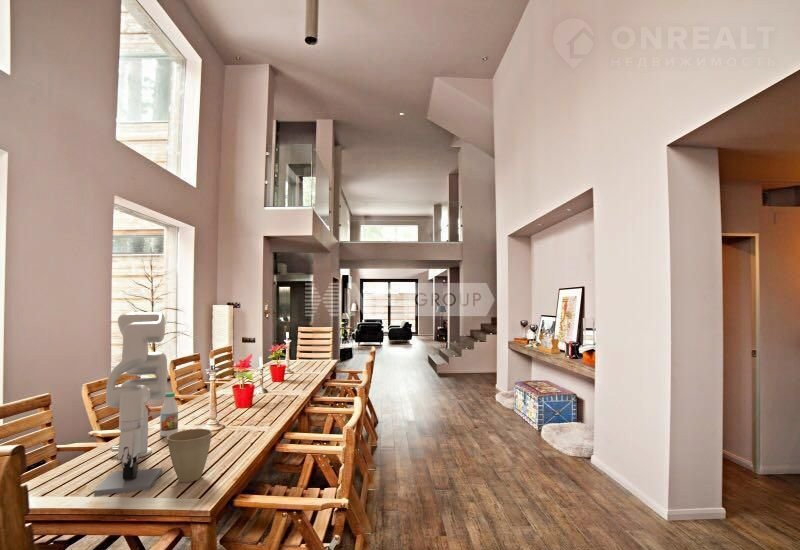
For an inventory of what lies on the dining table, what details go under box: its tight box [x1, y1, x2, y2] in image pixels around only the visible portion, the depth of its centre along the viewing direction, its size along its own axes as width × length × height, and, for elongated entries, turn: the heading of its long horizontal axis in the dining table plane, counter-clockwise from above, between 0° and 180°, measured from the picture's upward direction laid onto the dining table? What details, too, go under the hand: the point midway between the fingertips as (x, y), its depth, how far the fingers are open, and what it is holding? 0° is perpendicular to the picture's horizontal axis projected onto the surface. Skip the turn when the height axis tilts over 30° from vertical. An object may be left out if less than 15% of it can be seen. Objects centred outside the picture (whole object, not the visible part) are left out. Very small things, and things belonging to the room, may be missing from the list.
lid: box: [93, 462, 163, 496], centre depth 167 cm, size 17×17×6 cm
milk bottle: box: [159, 391, 179, 438], centre depth 227 cm, size 8×8×20 cm
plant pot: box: [166, 428, 213, 483], centre depth 170 cm, size 15×15×16 cm
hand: (130, 475), depth 167 cm, fingers closed on lid, 4 cm apart
